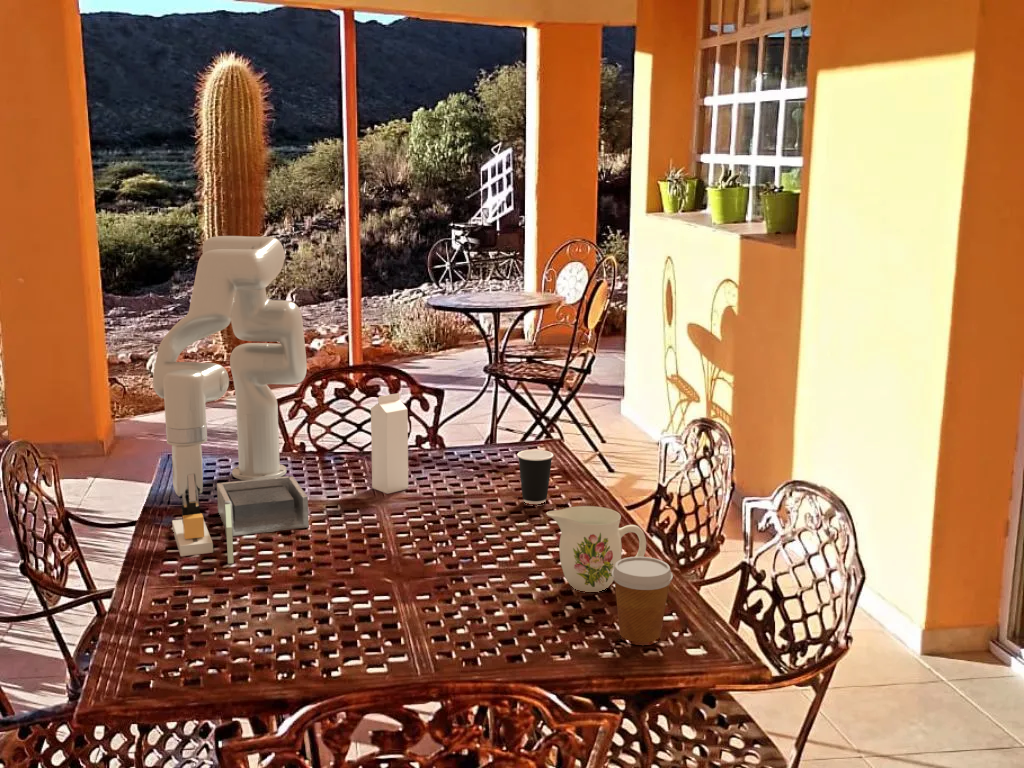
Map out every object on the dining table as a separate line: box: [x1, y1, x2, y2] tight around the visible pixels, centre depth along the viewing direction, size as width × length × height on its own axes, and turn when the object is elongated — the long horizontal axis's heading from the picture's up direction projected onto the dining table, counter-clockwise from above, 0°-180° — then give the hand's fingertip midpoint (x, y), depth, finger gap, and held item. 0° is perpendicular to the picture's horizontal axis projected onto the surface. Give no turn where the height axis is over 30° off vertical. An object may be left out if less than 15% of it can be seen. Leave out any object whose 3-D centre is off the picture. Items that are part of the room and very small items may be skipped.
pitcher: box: [545, 505, 647, 593], centre depth 192 cm, size 11×18×14 cm, turn 97°
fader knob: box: [183, 512, 205, 539], centre depth 209 cm, size 2×4×4 cm, turn 112°
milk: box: [370, 392, 409, 494], centre depth 247 cm, size 6×6×22 cm
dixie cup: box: [516, 449, 554, 504], centre depth 239 cm, size 8×8×11 cm
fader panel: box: [171, 518, 214, 557], centre depth 213 cm, size 16×6×2 cm, turn 22°
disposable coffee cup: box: [612, 556, 674, 642], centre depth 171 cm, size 10×10×12 cm
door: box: [224, 501, 235, 564], centre depth 208 cm, size 1×16×7 cm, turn 15°
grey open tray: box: [216, 475, 309, 537], centre depth 226 cm, size 16×16×6 cm
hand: (191, 524), depth 212 cm, fingers closed
